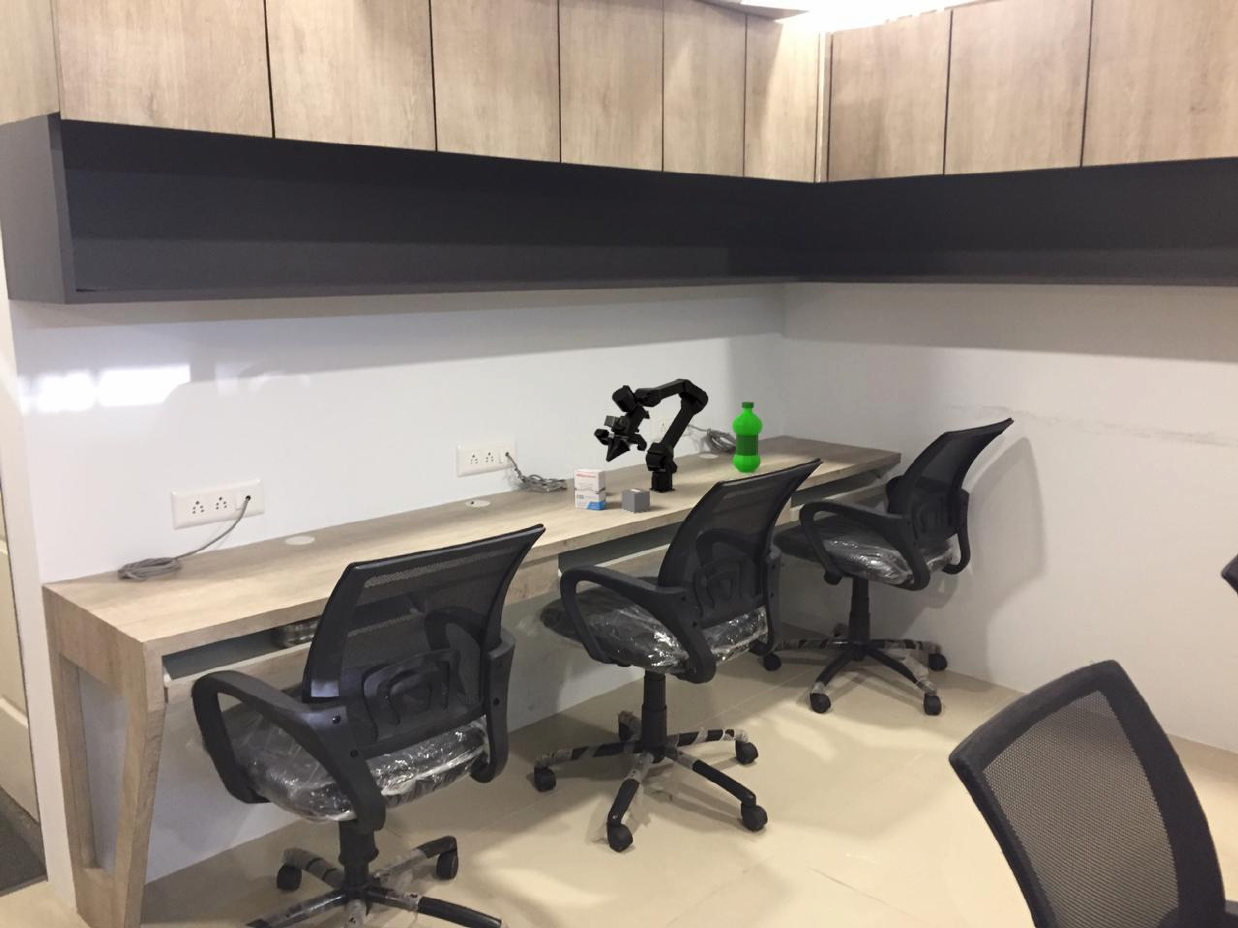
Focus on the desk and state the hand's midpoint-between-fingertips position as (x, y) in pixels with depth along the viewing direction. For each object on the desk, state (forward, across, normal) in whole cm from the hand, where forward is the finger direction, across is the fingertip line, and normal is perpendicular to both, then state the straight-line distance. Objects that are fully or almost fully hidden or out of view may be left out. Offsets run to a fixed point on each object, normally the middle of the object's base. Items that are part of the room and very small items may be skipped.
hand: (607, 461), depth 305 cm
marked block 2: (+10, +12, +9) cm, 18 cm away
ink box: (+15, 0, +4) cm, 16 cm away
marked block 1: (+8, -12, +11) cm, 18 cm away
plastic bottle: (-39, +1, +60) cm, 71 cm away
